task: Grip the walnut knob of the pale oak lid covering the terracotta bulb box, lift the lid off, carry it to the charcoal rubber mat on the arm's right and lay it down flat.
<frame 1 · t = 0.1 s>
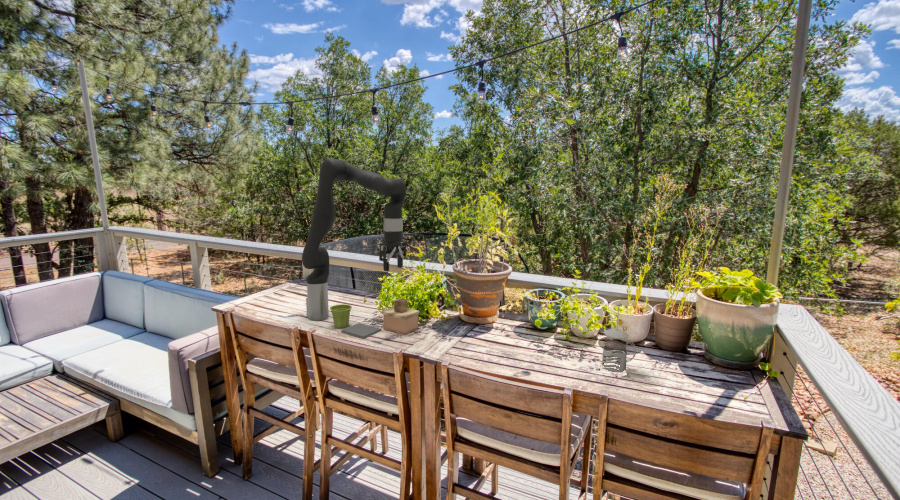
hand: (393, 269, 169), 29 cm above the table, fingers open, 8 cm apart
french press: (615, 372, 146), on the table
lid: (400, 313, 183), point 7 cm above the table, touching box
box: (400, 328, 184), on the table
plant pot: (341, 326, 186), on the table
mat: (361, 331, 180), on the table
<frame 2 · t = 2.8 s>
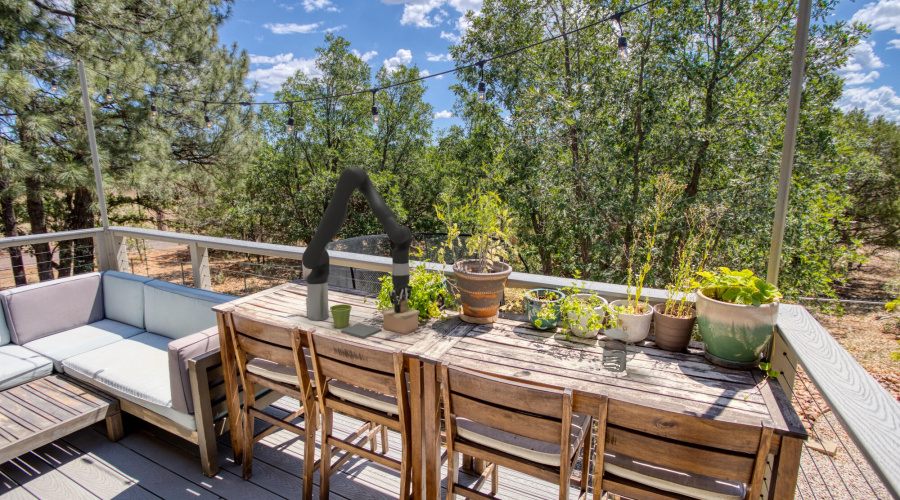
hand: (400, 310, 183), 8 cm above the table, fingers closed on lid, 4 cm apart
lid: (400, 313, 183), point 7 cm above the table, touching box, gripper
everything else where it was.
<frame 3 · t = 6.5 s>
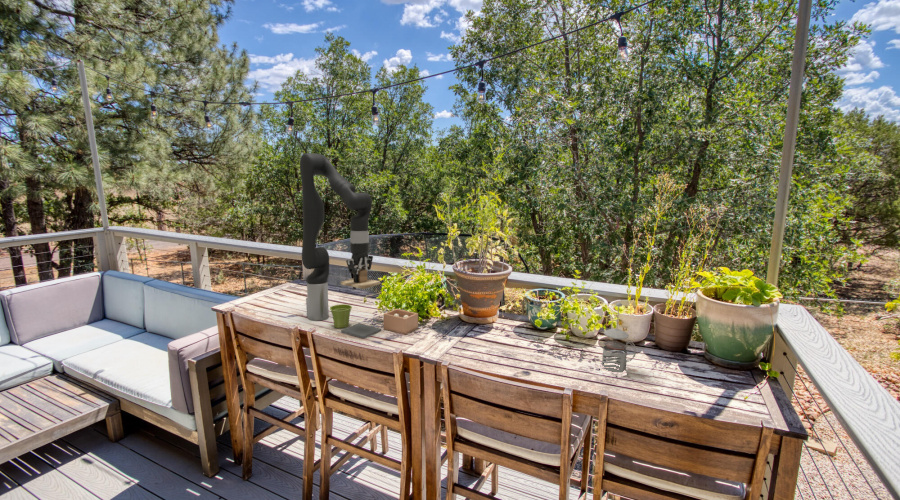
hand: (360, 281, 176), 22 cm above the table, fingers closed on lid, 4 cm apart
lid: (360, 284, 177), point 21 cm above the table, touching gripper
everything else where it was.
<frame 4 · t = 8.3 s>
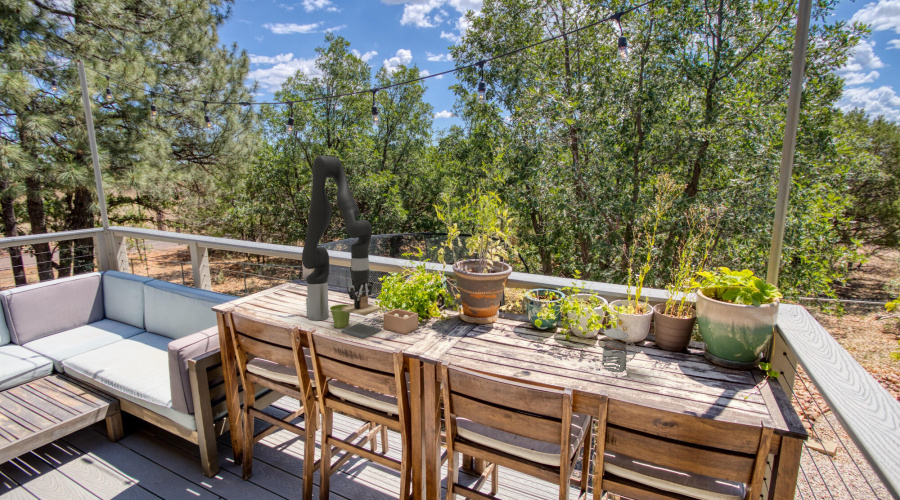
hand: (361, 307, 178), 11 cm above the table, fingers closed on lid, 4 cm apart
lid: (361, 310, 178), point 10 cm above the table, touching gripper
everything else where it was.
when the fingers open (4 cm above the table, at t = 10.1 s): lid drops 1 cm, resting on mat.
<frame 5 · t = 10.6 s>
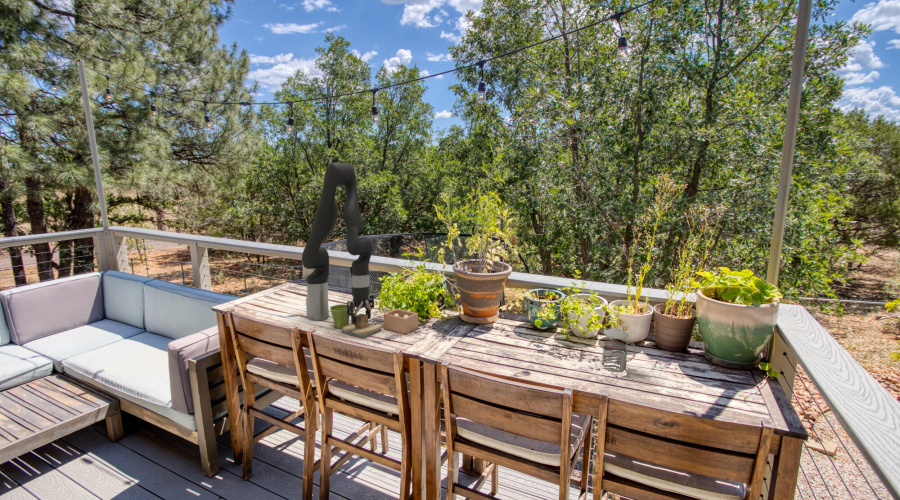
hand: (361, 321, 179), 5 cm above the table, fingers open, 8 cm apart
lid: (361, 329, 180), point 1 cm above the table, touching mat
everything else where it was.
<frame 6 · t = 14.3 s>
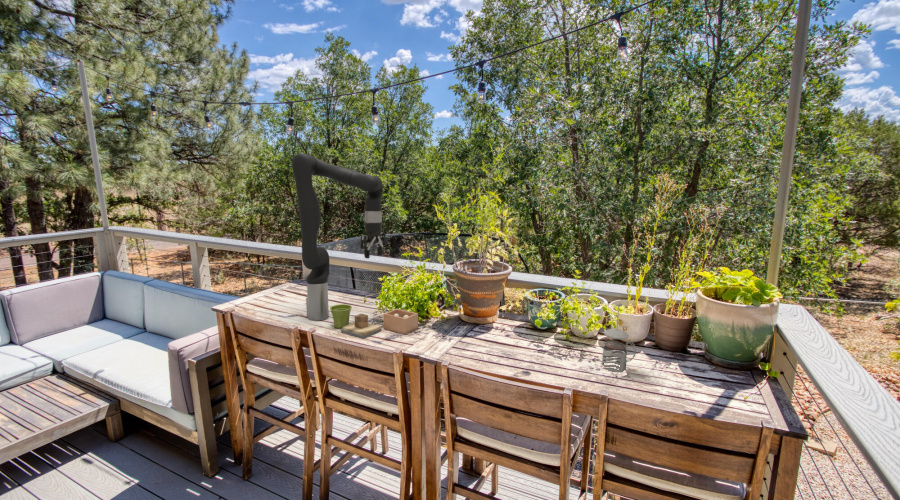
hand: (373, 256, 189), 30 cm above the table, fingers open, 8 cm apart
nothing on the table moved.
at the end: lid inside the target area on the mat (0.1 cm from its centre), point 1.0 cm above the mat's base; lid tilted 0°; lid touching mat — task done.
